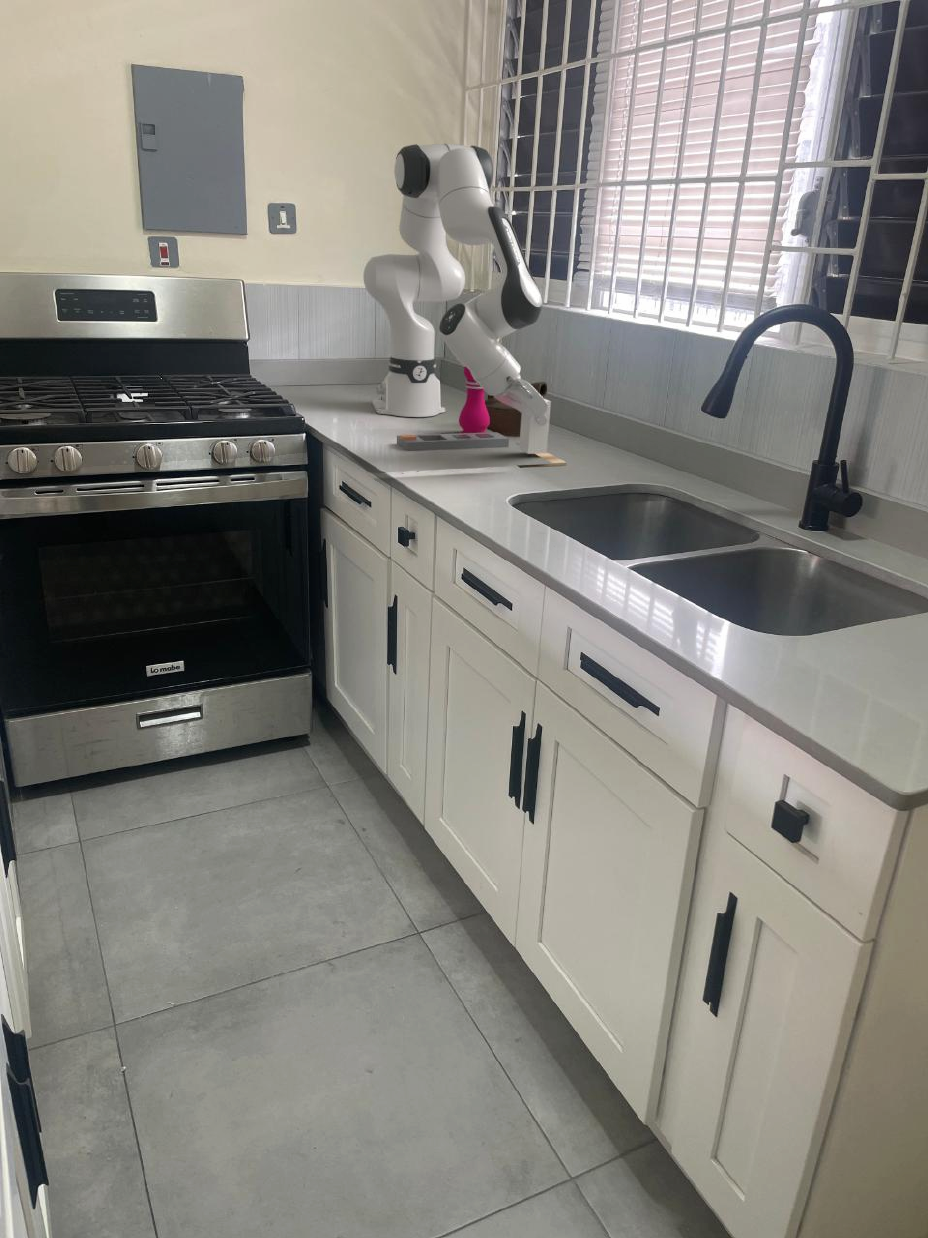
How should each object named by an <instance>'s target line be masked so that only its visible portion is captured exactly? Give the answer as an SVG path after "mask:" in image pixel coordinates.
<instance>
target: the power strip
mask: <svg viewBox="0 0 928 1238" xmlns="http://www.w3.org/2000/svg"><path fill="white" fill-rule="evenodd" d="M509 443H510V438H509V437H507V436H506V435H501V434H499V433H497V432H492V431H488V432H486V433H437V434H434V433H433V434H432V433H431V434H401V435H397V436H396V445H397V446H399V447H400V448H402V449H403V450H405V451H406V452H414V451H419V452H420V451H442V450H443V451H444V450H465V449H467V450H468V449H488V448H489V449H490V448H491V449H492V448H508V447H509V446H510V445H509ZM519 444H520V442H518V443H516V446H519Z"/></svg>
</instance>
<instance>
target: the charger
mask: <svg viewBox="0 0 928 1238" xmlns="http://www.w3.org/2000/svg"><path fill="white" fill-rule="evenodd" d="M544 399H545V401H546V402H547V403H548V405H549V409H548V410H547V412H546V413H545V414H544V416H545V417H546V418H547V420H548V422H547V423H546V424H545V425H544V426H541V425H539V424H538V423H537V422H536V421H535V418H534V417H532V416H530V415H528V414H526V413H524V412H522V416H521V430H520V436H519V443H520V444H519V443H518V444H519V445H518V446H519V447H518V449H519V450H520V451H522V452H524V453H526V454H527V455H528V454H529V455H530V454H533V455H534V454H535V453H548V442H549V441H548V440H549V433H550V432H549V430H550V418H551V409H552V408H551V407H552V401H551V400H548V399H546V398H544ZM535 455H536V454H535Z"/></svg>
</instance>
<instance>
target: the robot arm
mask: <svg viewBox="0 0 928 1238" xmlns="http://www.w3.org/2000/svg"><path fill="white" fill-rule="evenodd" d="M393 173H394V178H395V183H396V186H397V187H396V188H397V189H398V190H399V192H400V193H401V194H402V195H403V197H402V205H401V212H400V219H399V225H398V226H399V228H398V231H399V235H400V237H401V239H402V240H403V242H404V243H406V245H407V246H409V247H410V248H411V249H413V250H414V251H416V252H418V254H394V253H392V254H391V253H390V254H389V253H388V254H383V255H382V254H381V255H378V256H372V257H371V258H370V259H369V260H368V261H367V263H366V265H365V267H364V270H363V279H362V280H363V284H364V287H365V289H366V291H367V292H368V294H369V295H370V296H371V297H372V298H373V299H374V300H375V301H376V302H377V303H378V304H379V305H380V306H381V308H382V309H383V311H384V312H385V314H386V317H387V319H388V322H389V326H390V338H391V356H390V357H389V362H388V373H387V375H386V376H385V377H384V379H383V381H382V382H381V385H376V394H377V395H380V399H374V400H373V399H372V406H373V407H374V410H375V411H376V413H377V414H380V415H391V416H398V417H406V418H407V417H409V418H411V417H412V418H423V417H424V418H425V417H433V416H437V415H439V414H443V413H445V412H446V407H443V406H441V382H440V380H439V378H437V377H436V375H435V373H436V368H437V361H436V358H435V343H436V342H435V341H436V340H435V338H436V337H435V336H436V330H435V328H434V325H433V324H432V323H431V322H430V321H429V320H428V319H426V318H425V317H424V316H422V315H419V314H417V313H416V312H415V311H414V306H413V304H414V303H415V302H420V303H424V302H425V303H441V302H449V301H452V300H457V299H458V298H459V297H460V296H461V294H462V293H463V290H464V288H465V285H466V273H465V270H464V268H463V266H462V264H461V263H460V261H459V260H458V259H456V257H454V256H453V255H452V253H451V252H450V251H449V248H448V245H447V240H446V239H447V237H446V236H448V237H449V238H451V239H452V240H453V241H455V242H457V243H459V244H462V245H468V246H481V245H489V244H491V245H492V246H493V249H494V252H495V255H496V257H497V260H498V263H499V265H500V270H501V271H502V278H501V280H500V282H499V283H498V284H497V285H494V286H493V287H491V288H489V289H488V290H486V291H485V292H482V293H480V294H479V295H477V296H474V297H473V298H472V299H470V300H468V301H467V302H466V303H456V304H454V305H452V306H451V307H450V308H448V310H447V311H446V312H444V313H445V314H444V315H443V316H442V317H441V320H440V322H439V325H438V331H439V334H440V336H441V338H442V340H443V342H444V343H445V345H446V347H447V348H448V349H449V350H450V352H451V354H453V356H454V357H455V359H457V361H458V362H459V363H460V364H461V365H463V366H464V367H465V366H466V367H467V368H468V369H469V370H470V372H471V374H472V376H473V378H474V380H475V381H476V382H477V383H478V384H479V385H480V386H481V387H482V388H483V389H484V390H485V392H484V393H486V394H487V396H488V395H491V396H492V395H493V396H494V398H496V399H497V400H499V401H500V402H502V403H504V404H506V405H508V406H510V407H513V408H515V409H517V410H518V411H519V412H521V413H522V412H524V413H526V414H528V415H530V416H532V417H534V418H535V421H536V422H537V423H538V424H539V425H541V426H544V425H545V424H546V423H547V422H548V420H547V418H546V417H545V416H544V414H545V413H546V412H547V410H548V409H549V405H548V403H547V402H546V401H545V399H546V398H545V397H542V396H541V395H540V394H539V393H538V392H537V391H536V389H535V388H534V387H533V386H532V385H531V384H532V383H529V382H528V381H527V380H524V379H522V378H521V377H522V376H521V374H520V373H521V370H522V369H521V365H520V364H519V362H518V361H517V360H516V359H515V357H514V356H513V355H512V354H511V352H510V351H509V350H508V349H507V348H506V347H505V346H504V345H502V344H501V343H500V339H503V338H504V337H506V336H508V335H510V334H512V333H514V332H515V331H517V330H521V329H523V328H526V327H528V326H530V325H534V324H535V323H536V322H537V321H538V320H539V317H540V314H541V313H542V308H543V303H544V302H543V296H542V293H541V291H540V288H539V287H538V285H537V283H536V280H535V279H534V277H533V276H532V273H531V270H530V268H529V266H528V263H527V260H526V257H525V254H524V252H523V250H522V247H521V246H522V245H521V244H520V242H519V239H518V236H517V233H516V230H515V228H514V227H513V224H512V222H511V220H510V218H509V215H508V214H507V213H506V211H504V210H503V209H502V208H501V207H499V206H494V205H493V202H492V199H491V195H490V189H491V186H492V183H493V178H494V163H493V158H492V157H491V154H490V153H489V151H488V150H486V149H485V148H482V147H480V146H476V145H470V146H468V145H462V144H455V143H442V144H441V143H440V144H439V143H438V144H437V143H436V144H421V145H418V144H417V143H416V144H415V143H414V144H410V145H406V146H403V147H402V148H401V149H400V150H399V151H398V153H397V155H396V158H395V163H394V172H393Z"/></svg>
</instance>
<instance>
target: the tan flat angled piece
mask: <svg viewBox="0 0 928 1238" xmlns="http://www.w3.org/2000/svg"><path fill="white" fill-rule="evenodd" d="M535 455H537V456H538V457H540V458H542V459H544V460H546V461H548V462H549V463H540V464H538V463H537V464H521V465H520V464H519V465H517V464H516V466H517V467H518V468H537V467H539V468H540V467H542V468H543V467H557V466H558V467H560V466H567V465H568V463H567V461H564V460H563V459H561V458H559V457H557V456H555V455H553V454H551V453H549V452H547V453H535Z"/></svg>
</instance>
